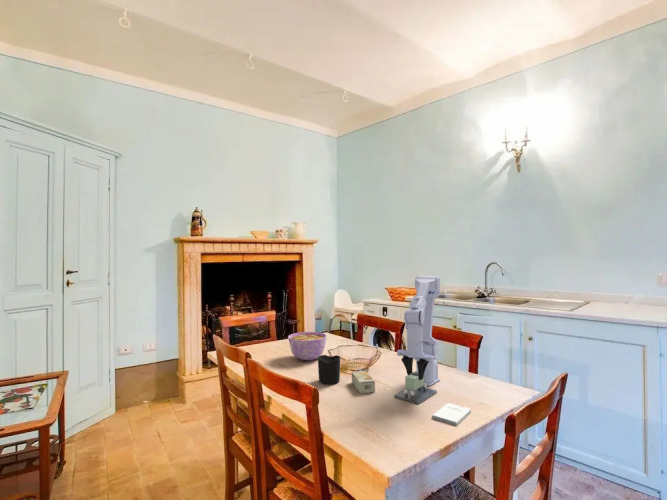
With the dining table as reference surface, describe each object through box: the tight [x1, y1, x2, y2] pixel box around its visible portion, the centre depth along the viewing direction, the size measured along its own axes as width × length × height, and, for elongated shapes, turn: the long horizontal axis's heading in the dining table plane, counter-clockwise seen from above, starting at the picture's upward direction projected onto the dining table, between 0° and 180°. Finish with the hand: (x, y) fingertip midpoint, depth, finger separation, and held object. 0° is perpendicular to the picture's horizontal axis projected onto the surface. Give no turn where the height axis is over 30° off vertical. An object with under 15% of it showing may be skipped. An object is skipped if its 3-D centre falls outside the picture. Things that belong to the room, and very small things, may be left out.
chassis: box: [393, 383, 438, 405], centre depth 134 cm, size 14×10×3 cm
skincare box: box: [351, 370, 376, 394], centre depth 143 cm, size 6×4×12 cm
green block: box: [404, 370, 424, 390], centre depth 134 cm, size 7×4×5 cm, turn 138°
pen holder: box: [317, 354, 341, 386], centre depth 151 cm, size 9×9×10 cm
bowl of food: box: [287, 331, 328, 361], centre depth 184 cm, size 20×20×12 cm
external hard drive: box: [431, 402, 472, 427], centre depth 118 cm, size 2×8×12 cm
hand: (415, 377), depth 135 cm, fingers closed on green block, 4 cm apart
